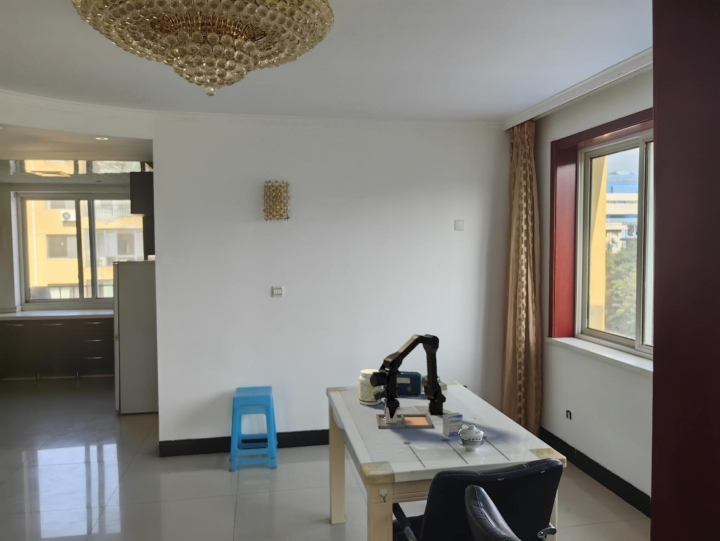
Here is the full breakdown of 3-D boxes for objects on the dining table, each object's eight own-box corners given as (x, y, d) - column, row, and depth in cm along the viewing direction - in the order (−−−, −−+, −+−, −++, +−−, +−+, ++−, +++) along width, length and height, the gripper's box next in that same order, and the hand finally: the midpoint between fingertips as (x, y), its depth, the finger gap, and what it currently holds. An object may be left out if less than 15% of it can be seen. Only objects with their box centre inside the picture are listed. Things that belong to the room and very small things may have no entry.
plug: (395, 420, 250) (395, 403, 250) (396, 423, 246) (396, 406, 246) (384, 420, 250) (384, 403, 250) (384, 423, 246) (384, 406, 246)
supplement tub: (367, 398, 289) (367, 367, 288) (385, 401, 282) (386, 370, 281) (354, 403, 279) (354, 371, 279) (373, 407, 272) (373, 375, 271)
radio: (382, 395, 295) (383, 359, 294) (384, 391, 303) (384, 356, 303) (420, 397, 291) (420, 361, 290) (421, 392, 300) (421, 358, 299)
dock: (427, 416, 257) (427, 413, 257) (433, 428, 240) (433, 425, 240) (375, 417, 256) (375, 414, 256) (378, 429, 239) (378, 425, 239)
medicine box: (448, 436, 230) (448, 417, 230) (442, 433, 234) (442, 414, 234) (462, 433, 234) (462, 414, 233) (456, 430, 238) (456, 411, 237)
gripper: (372, 379, 256) (372, 410, 257) (375, 389, 238) (375, 423, 238) (395, 379, 257) (395, 410, 257) (399, 389, 238) (399, 423, 239)
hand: (390, 416), depth 248 cm, fingers closed on plug, 4 cm apart
